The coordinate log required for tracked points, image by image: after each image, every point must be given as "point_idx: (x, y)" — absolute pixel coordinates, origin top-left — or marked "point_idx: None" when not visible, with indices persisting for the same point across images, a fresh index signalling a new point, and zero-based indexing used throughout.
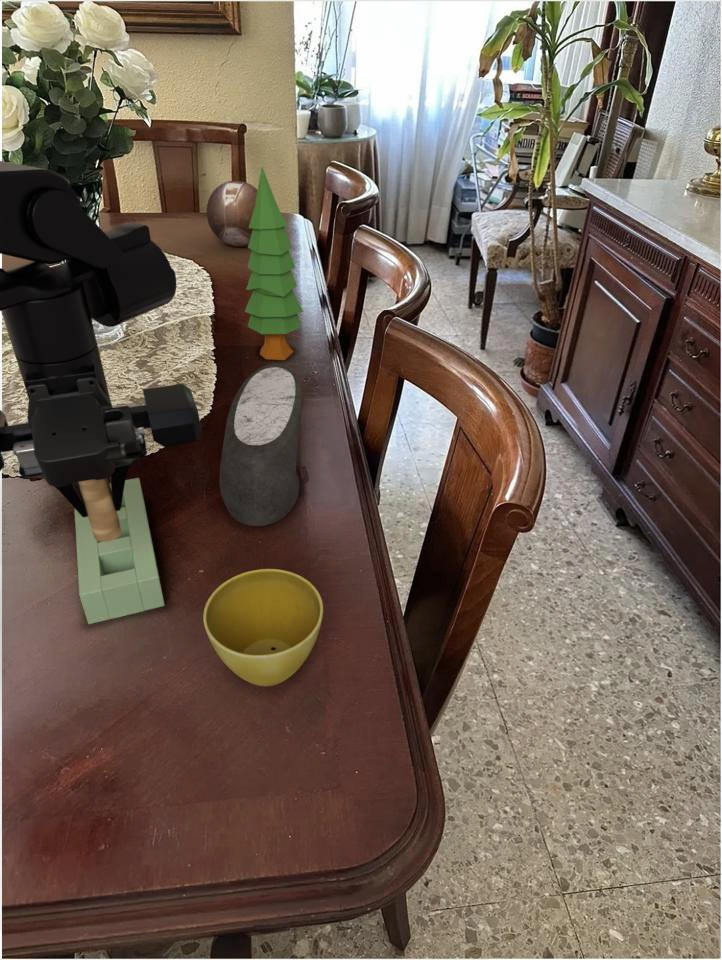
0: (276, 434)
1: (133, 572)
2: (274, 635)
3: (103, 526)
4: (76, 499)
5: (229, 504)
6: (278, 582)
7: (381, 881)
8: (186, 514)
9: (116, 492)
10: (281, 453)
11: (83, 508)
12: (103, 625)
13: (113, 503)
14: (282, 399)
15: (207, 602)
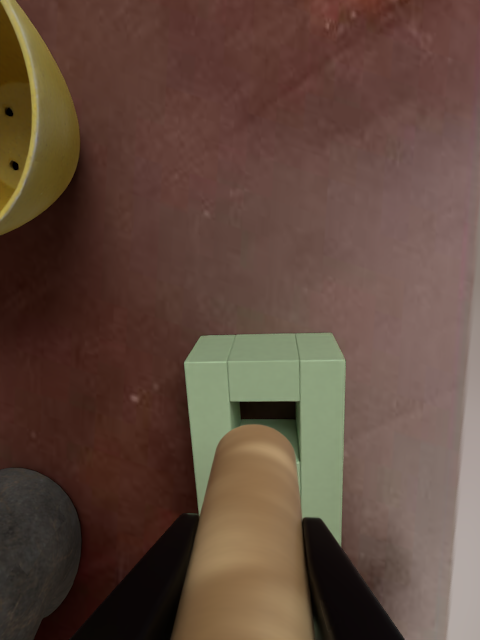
0: None
1: (233, 391)
2: (6, 191)
3: (253, 462)
4: (342, 609)
5: (51, 525)
6: None
7: None
8: (153, 536)
9: (142, 595)
10: None
11: (313, 552)
12: (306, 323)
13: (188, 544)
14: None
15: (28, 165)
